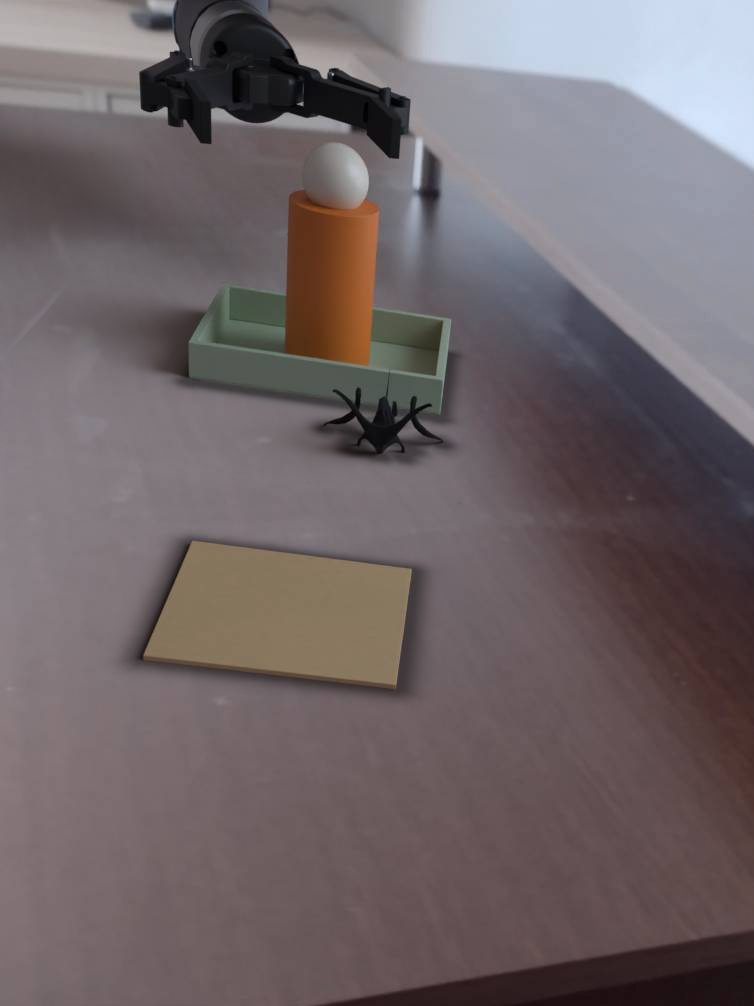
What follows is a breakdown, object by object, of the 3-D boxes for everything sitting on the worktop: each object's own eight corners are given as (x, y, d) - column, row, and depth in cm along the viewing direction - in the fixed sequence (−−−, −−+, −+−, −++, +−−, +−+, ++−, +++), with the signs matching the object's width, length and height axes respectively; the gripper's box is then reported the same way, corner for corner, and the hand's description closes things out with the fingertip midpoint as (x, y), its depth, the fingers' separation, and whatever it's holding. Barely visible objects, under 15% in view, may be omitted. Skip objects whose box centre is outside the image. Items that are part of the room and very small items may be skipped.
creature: (327, 433, 90) (313, 455, 83) (333, 352, 88) (319, 366, 81) (443, 450, 91) (438, 473, 84) (451, 370, 89) (447, 386, 82)
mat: (143, 662, 63) (142, 655, 63) (192, 546, 73) (191, 540, 73) (395, 691, 65) (396, 684, 65) (411, 574, 74) (411, 568, 74)
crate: (188, 385, 90) (188, 341, 88) (222, 323, 100) (222, 282, 98) (439, 422, 92) (443, 380, 91) (447, 357, 103) (451, 318, 101)
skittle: (278, 370, 93) (284, 145, 84) (290, 342, 98) (296, 125, 89) (364, 383, 94) (379, 161, 85) (372, 354, 99) (386, 141, 90)
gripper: (389, 125, 117) (463, 197, 102) (88, 99, 107) (122, 174, 92) (395, 29, 112) (473, 90, 98) (81, -8, 102) (116, 53, 88)
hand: (303, 131), depth 95 cm, fingers open, 13 cm apart
